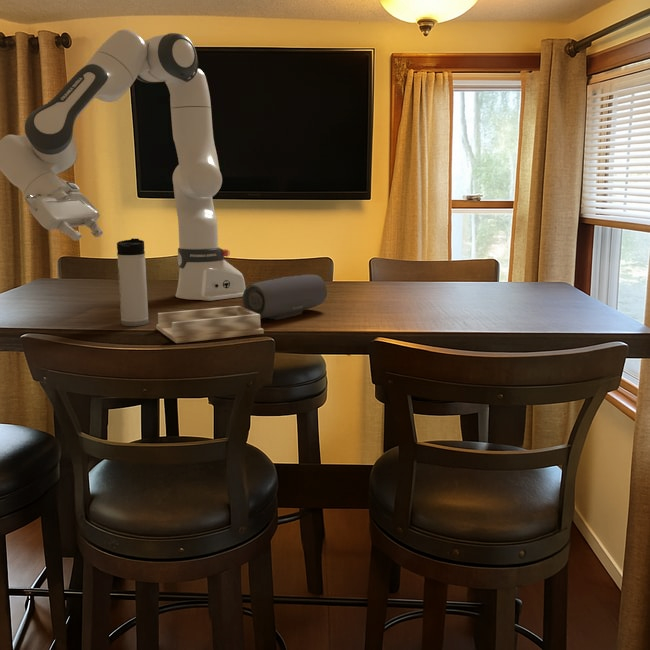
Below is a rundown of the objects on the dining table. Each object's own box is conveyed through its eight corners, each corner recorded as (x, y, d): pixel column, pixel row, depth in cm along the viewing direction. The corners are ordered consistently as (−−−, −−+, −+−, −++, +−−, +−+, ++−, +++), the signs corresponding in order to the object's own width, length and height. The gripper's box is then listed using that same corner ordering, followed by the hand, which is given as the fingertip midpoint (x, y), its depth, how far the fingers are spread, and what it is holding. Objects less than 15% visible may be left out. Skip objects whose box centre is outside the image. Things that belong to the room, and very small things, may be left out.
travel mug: (152, 321, 167) (148, 238, 163) (143, 326, 161) (138, 241, 157) (127, 320, 168) (123, 238, 164) (117, 326, 161) (111, 240, 157)
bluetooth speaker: (301, 307, 186) (301, 270, 184) (328, 312, 180) (328, 274, 178) (240, 320, 168) (239, 280, 166) (268, 326, 163) (267, 284, 161)
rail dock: (237, 320, 168) (237, 304, 167) (263, 333, 154) (263, 316, 154) (156, 328, 159) (155, 311, 158) (176, 343, 145) (175, 324, 144)
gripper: (29, 185, 151) (72, 231, 151) (80, 184, 171) (118, 224, 171) (13, 205, 153) (56, 250, 153) (65, 202, 173) (103, 242, 173)
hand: (89, 237), depth 162 cm, fingers open, 8 cm apart
